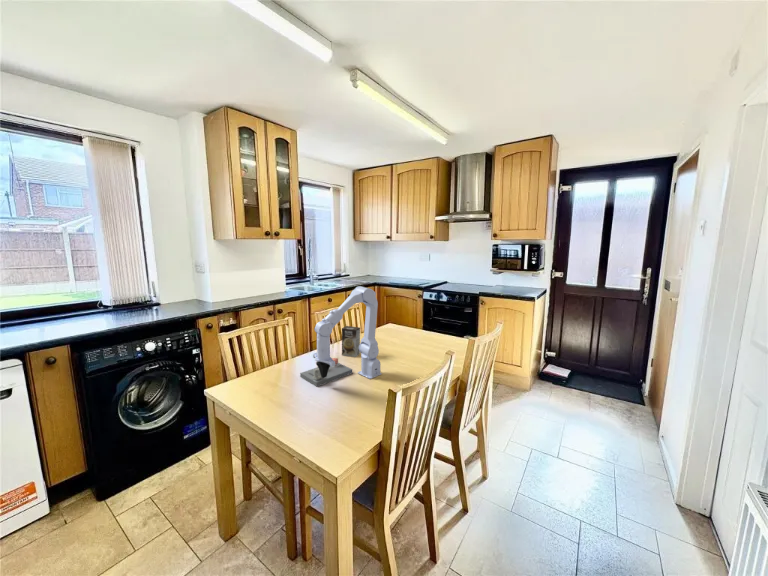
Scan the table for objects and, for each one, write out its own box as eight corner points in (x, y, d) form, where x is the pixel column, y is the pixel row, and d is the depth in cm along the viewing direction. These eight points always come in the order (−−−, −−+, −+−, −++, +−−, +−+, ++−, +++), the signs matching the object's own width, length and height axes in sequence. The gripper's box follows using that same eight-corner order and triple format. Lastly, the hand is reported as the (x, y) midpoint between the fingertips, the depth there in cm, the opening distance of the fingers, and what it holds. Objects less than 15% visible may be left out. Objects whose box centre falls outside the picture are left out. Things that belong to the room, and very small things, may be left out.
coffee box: (341, 355, 179) (341, 328, 176) (346, 351, 185) (346, 325, 182) (355, 357, 176) (355, 330, 173) (360, 353, 182) (360, 327, 179)
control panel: (352, 373, 156) (352, 369, 155) (316, 386, 141) (316, 382, 140) (335, 364, 165) (335, 361, 165) (300, 376, 150) (300, 372, 150)
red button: (339, 363, 160) (339, 359, 159) (333, 364, 157) (333, 361, 157) (335, 361, 162) (335, 357, 162) (329, 362, 159) (329, 359, 159)
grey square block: (323, 377, 145) (323, 368, 144) (316, 380, 142) (316, 371, 141) (320, 375, 147) (319, 366, 146) (312, 378, 144) (312, 369, 144)
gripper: (306, 346, 141) (307, 374, 143) (325, 354, 131) (326, 385, 133) (320, 342, 146) (320, 370, 148) (338, 350, 136) (339, 379, 138)
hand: (324, 376), depth 141 cm, fingers closed
